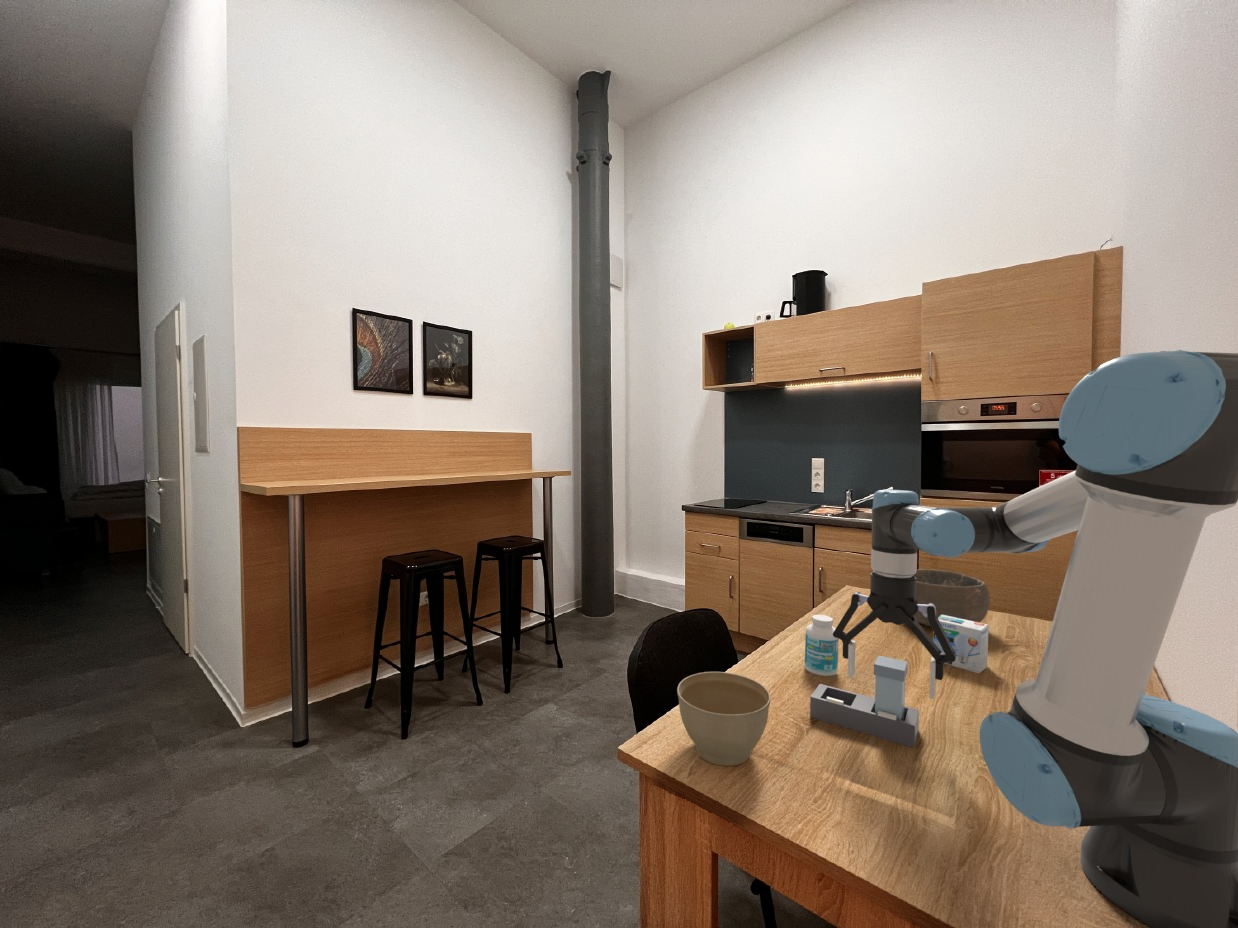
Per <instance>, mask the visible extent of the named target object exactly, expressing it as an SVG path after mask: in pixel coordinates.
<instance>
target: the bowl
mask: <svg viewBox="0 0 1238 928" xmlns="http://www.w3.org/2000/svg"><path fill="white" fill-rule="evenodd" d="M914 576H915V578H916V601H917V603H918V604H926V605H928V604H929V603H933V604H935V606H936V615H937V618H938V617H939V616H941V615H947V616H951V617H956V618H960V619H965V620H969V621H974V622H978V623H982V622H983V620H984V619H985V618H986V616H987V614H988V611H989V608H990V600H991V599H990V598H991V597H990V591H989V589H988V587H987V584H986V583H985V582H984V581H983V580H980V579H978V578H975V577H972V576H970V575H965V574H962V573H960V572H954V571H950V570H949V571H948V570H940V569H925V568H924V569H923V568H918V569H917V572H916V573H915V574H914ZM913 616H914V617H915V619H916V620H917V621H918V623H919V624H920V625H924V626H927V627H931V625H930V623H929V621H928V617H925V616H924V615H923V613H922V612H921V611H917V612H916V613H915V614H914V615H913ZM931 628H932V627H931Z"/></svg>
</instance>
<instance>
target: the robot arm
mask: <svg viewBox="0 0 1238 928" xmlns="http://www.w3.org/2000/svg"><path fill="white" fill-rule="evenodd" d="M1058 436H1059V439H1061V440H1062V441H1064V442H1065V443H1064V445H1062V448H1063V450H1064V451H1065V453H1066V454H1067V455H1068V457H1069V458H1070V459H1071V460H1072V461H1074V462H1075V463H1076V464H1077V465H1076V468H1075V470H1073V471H1071V472H1069V473H1067V474H1065V475H1061V476H1060V477H1058V478H1056V479H1054V480H1051V481H1050V482H1047V483H1045V484H1042V485H1040V486H1039V487H1036V488H1033V489H1031V490H1030V491H1028V492H1026V493H1024V494H1021V495H1019V496H1017V497H1014V498H1012V499H1011V500H1008V501H1006V502H1004V503H1000V504H999V505H996V506H992V507H991V506H989V507H988V506H987V507H984V506H981V507H980V506H979V507H978V506H975V507H972V506H971V507H965V506H964V507H959V506H958V507H957V506H953V507H951V506H950V507H949V506H945V507H943V506H937V507H936V506H928V505H927V506H926V505H920V502H919V501H920V500H919V495H918V493H917V492H915V491H913V490H901V489H879V490H877V491H875V492H874V494H873V496H872V497H873V498H872V507H871V550H870V552H871V553H870V568H871V570H873V571H872V572H870V588H869V589H870V593H869V595H866V594H861V592H860V591H855V592H854V593H853V594H852V595H851V601H850V605H849V607H848V608H847V610H846V612H845V613H844V615H843V617H842V618H841V620H840V621H839V622H838V624H837V626H836V627H835V631H834V632H833V636H834V637H835V638H839V640H841V642H842V658H843V659H846V660H847V678H848V679H853V678H854V676H855V674H856V673H855V672H856V641H857V640H853V639H854V638H855V637H857V636H858V635H859V634H860V633H862V632H863V630H865V629H866V628H867V627H868V626H870V625H871V624H872V623H873V622H874V621H876V620H877V619H878V620H879V621H881V623H886V624H887V623H888V624H889V623H890V624H893V625H895V626H901V625H905V626H906V627H907V628H908V629H909V630H910V631H911V632H912V633H913V634H914V636H915V637H916V638H917V639H918V641H919V642H920V643H921V644H922V646H924V648H925V649H926V650H927V652H928V653H929V654H930V655H931V659H930V662H929V663H930V664H929V666H930V667H929V670H930V671H929V677H930V678H929V695H928V696H929V699H933V700H934V699H935V697H936V692H937V691H936V690H937V689H936V687H937V683H936V682H937V680H938V681H942V680H943V679H944V669H945V668H944V667H945V666H944V665H945V664H944V663H945V662H947V661H950V662H954V661H955V659H956V653H955V651H954V649H953V647H952V645H951V643H950V641H949V639H948V637H947V635H946V633H945V631H944V629H943V627H942V625H941V623H940V621H939V619H938V618H937V615H936V606H935V604H933V603H929V604H928V605H926V604H918V603H917V601H916V578H915V576H914V574H915V573H916V572H917V568H918V567H917V566H918V550H919V551H922V552H924V553H926V554H930V555H931V556H936V557H944V558H957V557H960V556H962V555H963V554H965V553H1010V554H1011V553H1012V554H1024V553H1028V552H1029V553H1030V552H1031V553H1032V552H1037V551H1040V550H1042V549H1044V548H1045V547H1046V545H1047V544H1048V543H1049V542H1050V541H1051V539H1055V538H1058V537H1060V536H1064V535H1067V534H1071V533H1073V532H1076V531H1077V534H1076V538H1075V541H1074V544H1073V549H1072V552H1071V555H1070V558H1069V559H1070V560H1069V563H1068V566H1067V569H1066V573H1065V576H1064V580H1063V583H1062V586H1061V591H1060V593H1059V598H1058V600H1057V605H1056V609H1055V612H1054V615H1053V618H1052V622H1051V626H1050V630H1049V633H1048V636H1047V640H1046V644H1045V647H1044V651H1043V654H1042V658H1041V662H1040V666H1039V667H1038V668H1039V669H1038V672H1037V674H1036V675H1037V676H1036V678H1030V679H1027V680H1024V681H1021V682H1020V683H1019V684H1018V685H1017V687H1016V690H1015V693H1014V697H1013V700H1012V703H1011V708H1010V710H1009V711H1008V712H1004V711H996V712H994V713H992V714H988V715H986V716H985V717H984V718H983V719H982V721H981V724H980V727H979V744H980V749H981V753H982V757H983V761H984V763H985V765H986V767H987V770H988V771H989V774H990V776H991V778H992V780H993V781H994V784H995V786H997V788H998V790H999V791H1000V792H1001V794H1002V795H1003V796H1004V798H1005V799H1006V800H1007V801H1008V802H1009V803H1010V804H1011V806H1013V807H1014V808H1015V810H1017V811H1018V812H1019V813H1020V814H1021V815H1023V816H1024V817H1026V818H1027V819H1028V820H1031V821H1032V822H1034V823H1037V824H1040V825H1042V826H1047V827H1062V828H1063V827H1065V828H1067V829H1077V828H1081V827H1083V828H1084V827H1089V828H1088V829H1087V831H1086V833H1085V834H1084V836H1083V838H1082V841H1081V845H1080V865H1081V868H1082V871H1083V872H1084V874H1085V876H1086V875H1087V876H1086V877H1087V879H1088V880H1089V879H1090V880H1089V881H1090V882H1091V883H1092V885H1094V886H1096V887H1095V888H1096V889H1097V890H1098V891H1099V892H1100V891H1101V892H1102V893H1101V894H1102V895H1103V896H1105V897H1106V898H1107V899H1108V900H1109V901H1111V902H1112V903H1113V904H1114V905H1116V906H1117V907H1119V908H1120V909H1122V910H1123V911H1124V912H1125V913H1128V915H1131V917H1134V918H1135V919H1137V920H1138V921H1140V922H1141V923H1143V922H1144V924H1145V925H1147V926H1149V927H1151V928H1238V732H1237V731H1236V730H1235V729H1233V728H1232V727H1231V726H1229V725H1228V724H1226V723H1224V722H1222V721H1220V720H1218V719H1217V718H1215V717H1213V716H1210V715H1208V714H1206V713H1203V712H1201V711H1198V710H1196V709H1193V708H1191V707H1187V706H1185V705H1182V704H1181V703H1180V704H1179V703H1176V702H1173V701H1171V700H1170V701H1169V700H1167V699H1163V698H1161V697H1157V696H1152V695H1150V694H1149V695H1148V694H1145V692H1146V690H1147V686H1148V684H1149V681H1150V677H1151V675H1152V672H1153V670H1154V667H1155V664H1156V661H1157V658H1158V655H1159V651H1160V650H1161V646H1162V643H1163V641H1164V638H1165V634H1166V632H1167V629H1168V627H1169V624H1170V622H1171V619H1172V618H1171V617H1172V616H1173V613H1174V610H1175V609H1174V608H1175V606H1176V603H1177V601H1178V598H1179V595H1180V592H1181V590H1182V586H1183V583H1184V581H1185V577H1186V575H1187V572H1188V569H1189V566H1190V564H1191V560H1192V558H1193V555H1194V552H1195V549H1196V547H1197V543H1198V540H1199V538H1200V535H1201V533H1202V530H1203V527H1204V524H1205V522H1206V521H1205V520H1206V518H1208V517H1209V516H1211V515H1214V514H1215V513H1219V512H1221V511H1224V510H1228V509H1230V508H1233V507H1235V506H1237V504H1238V353H1237V352H1235V353H1233V352H1208V351H1189V350H1182V349H1177V350H1167V351H1166V350H1162V351H1161V350H1160V351H1152V352H1138V353H1131V354H1125V355H1122V356H1119V357H1115V358H1113V359H1110V360H1109V361H1106V362H1104V363H1102V364H1100V366H1098V367H1097V368H1096V369H1094V370H1093V371H1090V372H1088V373H1087V374H1086V375H1085V376H1083V377H1082V378H1081V379H1080V380H1079V382H1077V384H1076V385H1075V386H1074V387H1073V388H1072V390H1071V391H1070V392H1069V394H1068V396H1067V397H1066V399H1065V401H1064V403H1063V404H1062V408H1061V411H1060V416H1059V420H1058ZM865 603H867V604H868V606H869V608H870V609H871V610H872V611H871V612H869V613H868V614H867V615H866V616H865V617H864V618H863V619H862V620H860V621H859V622H858V623H857V624H855V626H853V627H852V628H851V629H850V630H849V631H847V632H845V631H844V630H845V628H846V627H847V625H848V624H849V622H850V620H851V619H852V617H853V616H854V614H855V613H856V611H857V610H858V608H859V607H861V606H863V605H864V604H865ZM917 611H921V612H922V613H923V615H924V616H925V617H928V621H929V623H930V625H931V630H932V631H934V633H935V635H936V637H937V639H938V641H939V643H940V645H941V647H942V649H943V651H944V652H941V650H940V649H939V648H938V647H937V645H936V644H935V643H934V642H933V638H931V637H930V635H929V634H928V633H927V632H926V631H925V629H924V628H923V626H921V624H920V623H918V621H917V620H916V619H915V617H914V616H913V615H914V614H915V613H916V612H917Z"/></svg>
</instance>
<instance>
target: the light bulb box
mask: <svg viewBox="0 0 1238 928" xmlns="http://www.w3.org/2000/svg"><path fill="white" fill-rule="evenodd" d="M938 619H939V621H940V623H941V625H942V627H943V629H944V631H945V633H946V635H947V637H948V639H949V641H950V643H951V645H952V647H953V649H954V651H955V653H956V659H955V661H954V662H950V661H947V662H945V663H944V665H948V666H952V667H955V668H959V669H962V670H965V671H969V672H972V673H976V674H980V673H982V672H983V671H984V670H985V669H986V668H988V657H989V656H988V654H989V653H988V652H989V651H988V649H989V628H990V627H989V624H988V623H987V624H986V623H982V622H980V623H978V622H974V621H969V620H965V619H960V618H956V617H951V616H947V615H941V616H939V617H938ZM932 631H933V630H932ZM932 641H933V642H934V643H935V644H936V645H937V647H938V648H939V649H940V650H941V652H944V651H943V649H942V647H941V645H940V643H939V641H938V639H937V637H936V635H935V633H934V631H933V632H932Z"/></svg>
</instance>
